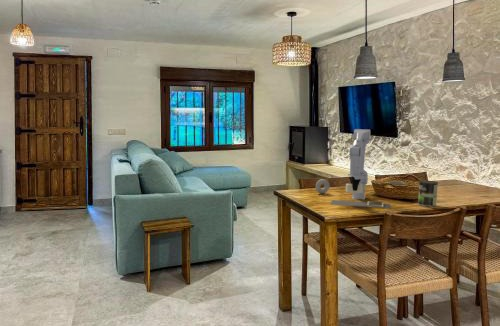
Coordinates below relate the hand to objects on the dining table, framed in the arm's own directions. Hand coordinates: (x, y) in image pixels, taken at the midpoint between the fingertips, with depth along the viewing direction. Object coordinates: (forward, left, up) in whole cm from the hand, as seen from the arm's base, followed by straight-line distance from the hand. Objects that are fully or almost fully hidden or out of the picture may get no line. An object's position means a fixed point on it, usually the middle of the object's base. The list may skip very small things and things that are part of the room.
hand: (354, 189), depth 251 cm
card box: (0, 0, -1) cm, 1 cm away
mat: (0, +4, -9) cm, 10 cm away
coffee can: (-13, +42, -9) cm, 45 cm away
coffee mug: (-31, +24, -9) cm, 41 cm away
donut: (-27, -22, -9) cm, 36 cm away
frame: (0, +12, -8) cm, 15 cm away
